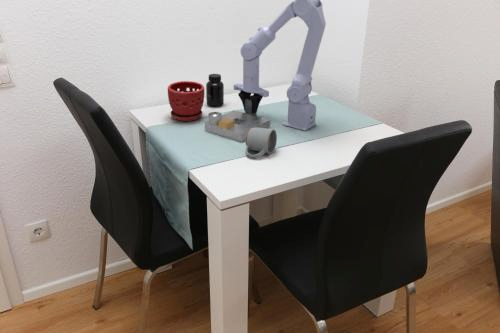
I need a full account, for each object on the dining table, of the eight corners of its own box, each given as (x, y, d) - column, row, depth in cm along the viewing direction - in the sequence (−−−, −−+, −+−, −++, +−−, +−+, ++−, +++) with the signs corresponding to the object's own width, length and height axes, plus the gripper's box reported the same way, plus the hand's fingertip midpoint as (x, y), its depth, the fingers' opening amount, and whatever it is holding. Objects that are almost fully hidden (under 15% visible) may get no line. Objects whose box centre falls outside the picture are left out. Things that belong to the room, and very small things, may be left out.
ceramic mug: (253, 143, 153) (253, 121, 150) (277, 148, 150) (277, 126, 147) (239, 157, 145) (239, 134, 141) (264, 162, 142) (264, 138, 138)
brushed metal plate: (269, 127, 166) (270, 111, 163) (241, 142, 154) (241, 125, 152) (233, 118, 174) (233, 102, 172) (205, 130, 163) (204, 114, 160)
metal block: (256, 116, 176) (256, 98, 173) (251, 118, 174) (251, 100, 171) (249, 114, 178) (250, 96, 174) (245, 116, 175) (245, 98, 172)
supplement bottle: (204, 106, 185) (202, 76, 180) (210, 101, 191) (209, 72, 186) (220, 108, 183) (219, 78, 178) (226, 103, 189) (225, 73, 184)
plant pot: (163, 121, 171) (160, 89, 165) (179, 109, 182) (177, 79, 177) (196, 125, 167) (194, 93, 162) (210, 113, 178) (209, 82, 173)
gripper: (274, 77, 168) (272, 113, 174) (241, 70, 176) (241, 104, 182) (262, 81, 163) (261, 118, 169) (230, 74, 170) (230, 109, 177)
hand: (250, 111), depth 175 cm, fingers closed on metal block, 3 cm apart
